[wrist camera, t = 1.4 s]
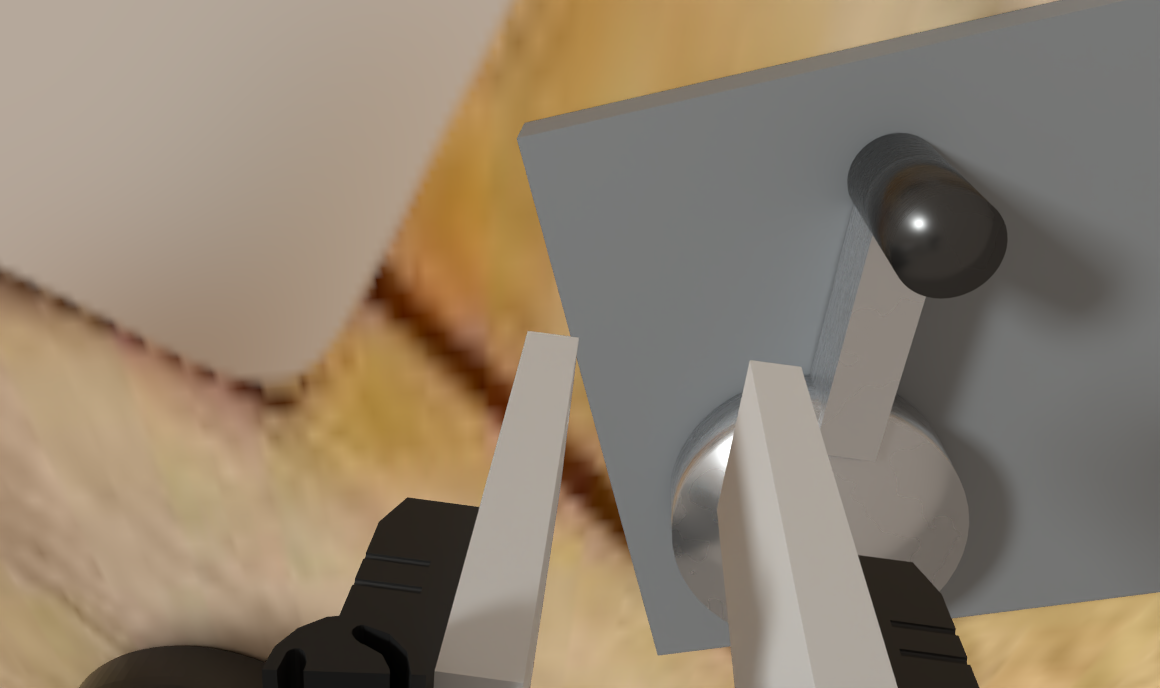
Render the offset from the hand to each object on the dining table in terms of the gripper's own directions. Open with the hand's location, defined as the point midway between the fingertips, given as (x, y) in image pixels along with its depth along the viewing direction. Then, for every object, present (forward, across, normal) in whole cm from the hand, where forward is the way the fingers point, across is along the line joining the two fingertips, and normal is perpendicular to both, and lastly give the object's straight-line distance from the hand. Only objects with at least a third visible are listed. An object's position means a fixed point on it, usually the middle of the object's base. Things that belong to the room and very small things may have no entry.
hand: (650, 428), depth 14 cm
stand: (+19, -11, +6) cm, 23 cm away
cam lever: (+16, -8, +8) cm, 20 cm away
